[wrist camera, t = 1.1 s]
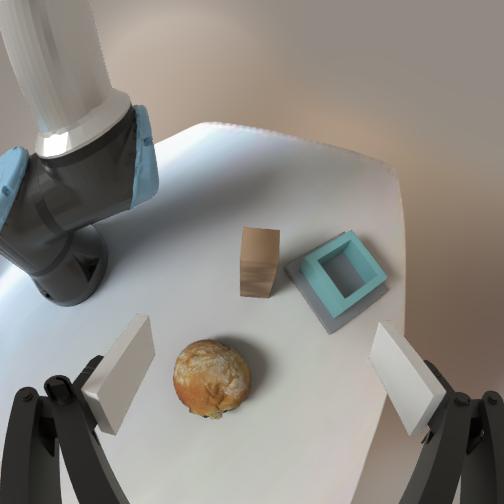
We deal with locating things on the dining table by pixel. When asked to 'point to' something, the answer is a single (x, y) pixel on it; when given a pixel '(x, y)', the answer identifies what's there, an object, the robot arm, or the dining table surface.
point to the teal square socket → (338, 279)
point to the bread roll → (211, 378)
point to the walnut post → (258, 261)
